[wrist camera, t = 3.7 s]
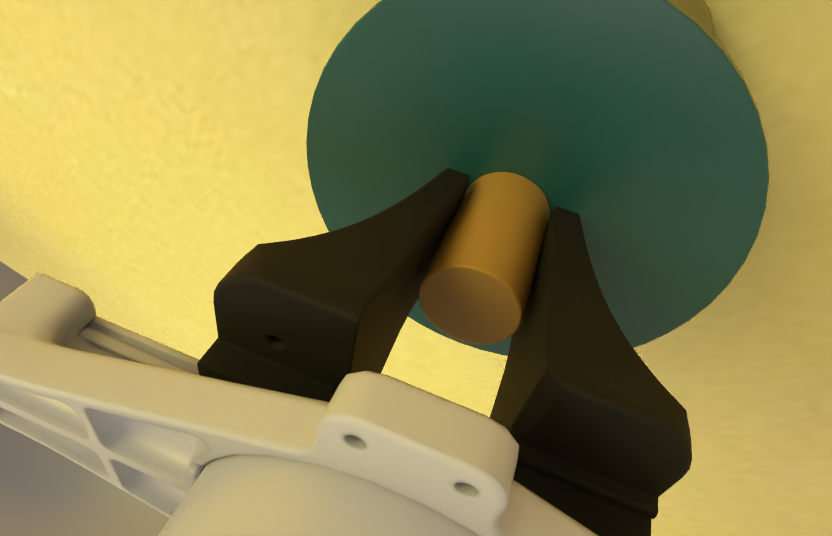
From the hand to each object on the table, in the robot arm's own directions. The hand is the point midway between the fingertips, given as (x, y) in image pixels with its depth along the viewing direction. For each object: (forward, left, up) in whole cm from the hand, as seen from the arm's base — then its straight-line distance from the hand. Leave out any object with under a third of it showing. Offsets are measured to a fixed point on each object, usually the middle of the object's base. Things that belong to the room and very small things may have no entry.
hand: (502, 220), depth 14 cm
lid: (0, 0, -1) cm, 1 cm away
